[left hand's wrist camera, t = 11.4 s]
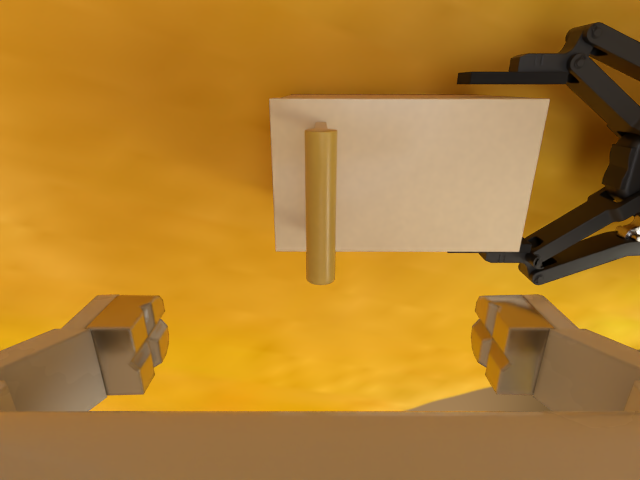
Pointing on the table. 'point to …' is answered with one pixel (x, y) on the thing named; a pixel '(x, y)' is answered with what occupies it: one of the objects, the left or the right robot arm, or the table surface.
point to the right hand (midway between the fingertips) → (452, 166)
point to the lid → (401, 175)
